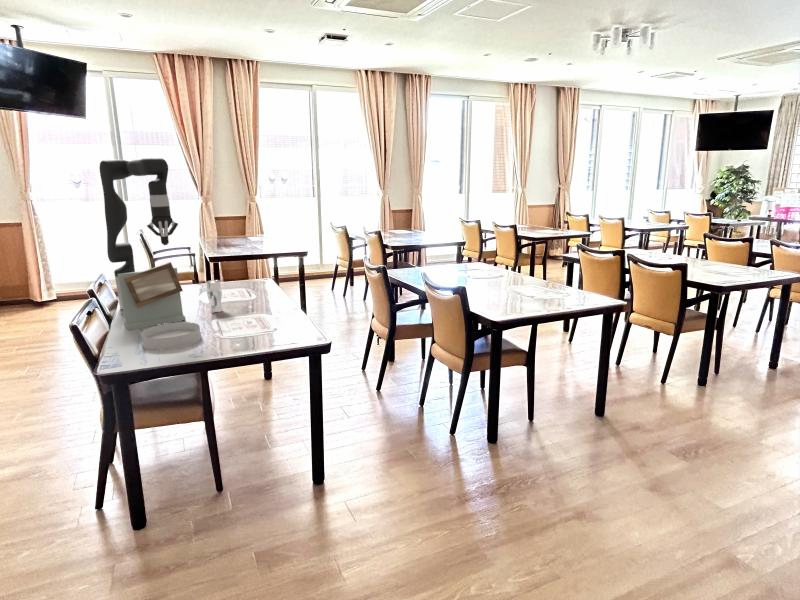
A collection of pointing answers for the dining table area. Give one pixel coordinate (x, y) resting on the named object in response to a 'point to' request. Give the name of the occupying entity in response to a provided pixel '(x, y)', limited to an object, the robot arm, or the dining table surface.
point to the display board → (149, 307)
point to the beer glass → (214, 295)
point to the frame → (153, 284)
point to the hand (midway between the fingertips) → (165, 244)
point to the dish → (171, 335)
